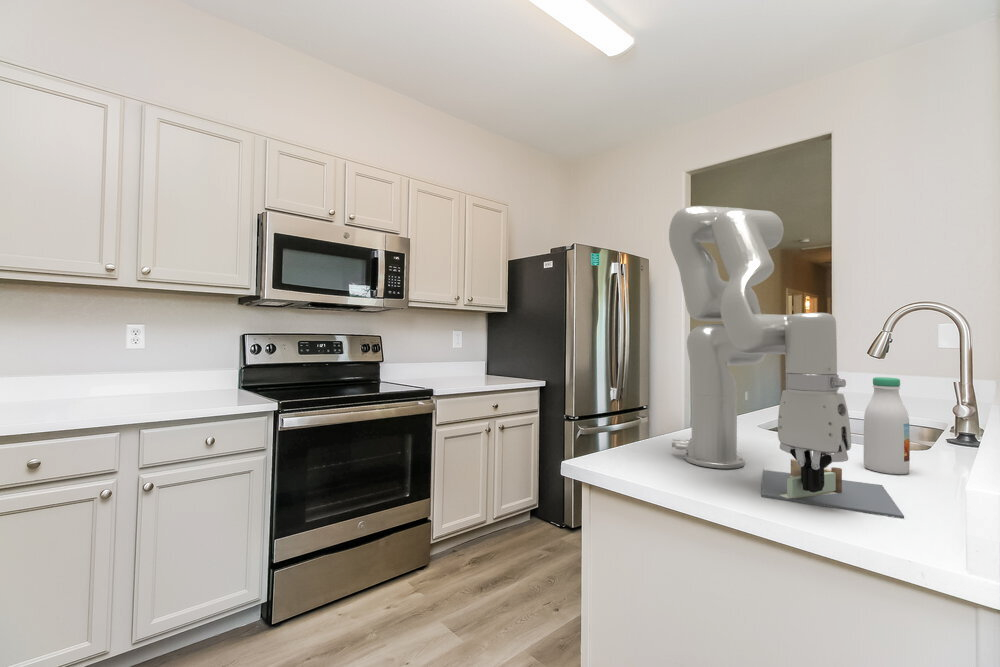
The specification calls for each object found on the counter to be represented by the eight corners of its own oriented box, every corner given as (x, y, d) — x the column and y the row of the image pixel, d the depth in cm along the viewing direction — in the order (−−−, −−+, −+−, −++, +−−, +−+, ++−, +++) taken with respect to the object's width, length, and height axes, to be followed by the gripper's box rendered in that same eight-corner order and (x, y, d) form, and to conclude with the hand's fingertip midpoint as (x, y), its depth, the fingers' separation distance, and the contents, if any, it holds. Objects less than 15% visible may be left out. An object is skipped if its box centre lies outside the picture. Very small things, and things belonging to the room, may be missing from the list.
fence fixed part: (789, 478, 96) (789, 455, 96) (795, 477, 97) (795, 455, 97) (837, 495, 86) (837, 470, 86) (844, 494, 87) (844, 469, 87)
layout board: (761, 496, 85) (761, 494, 85) (763, 471, 101) (763, 469, 101) (904, 518, 75) (904, 515, 75) (882, 487, 91) (882, 484, 91)
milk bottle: (896, 477, 97) (896, 380, 97) (855, 467, 105) (855, 376, 105) (917, 472, 101) (917, 378, 101) (876, 463, 108) (876, 375, 108)
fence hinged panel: (830, 488, 87) (830, 471, 87) (835, 490, 87) (835, 473, 87) (787, 495, 84) (787, 477, 84) (792, 497, 83) (792, 479, 83)
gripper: (872, 386, 77) (874, 499, 77) (781, 380, 91) (782, 476, 90) (847, 388, 74) (849, 506, 73) (756, 381, 87) (758, 482, 87)
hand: (812, 490), depth 82 cm, fingers closed
